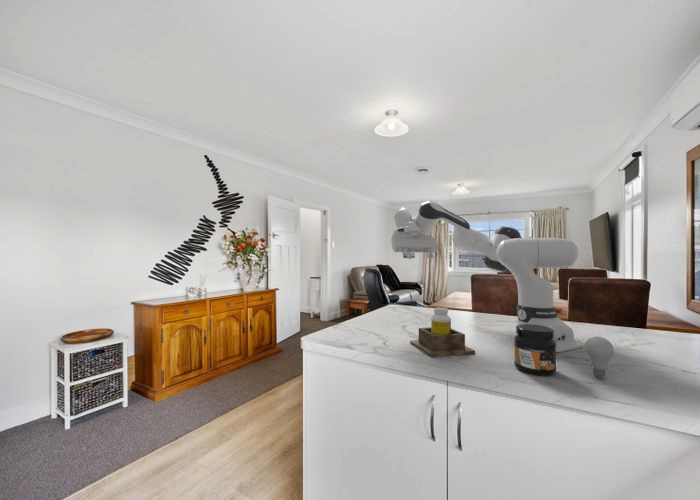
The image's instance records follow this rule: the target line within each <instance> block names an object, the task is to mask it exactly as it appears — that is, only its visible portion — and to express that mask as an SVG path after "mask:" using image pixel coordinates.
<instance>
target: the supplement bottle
mask: <svg viewBox="0 0 700 500" xmlns="http://www.w3.org/2000/svg"><path fill="white" fill-rule="evenodd" d="M433 312H434V314H433V315H431V318H430V319H431V321H430V322H431V333H432V334H434V335H446V334H451V328H452V319H451V317H450V316H449V315H448V313H449V309H448V308H446V307H434V309H433Z"/></svg>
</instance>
